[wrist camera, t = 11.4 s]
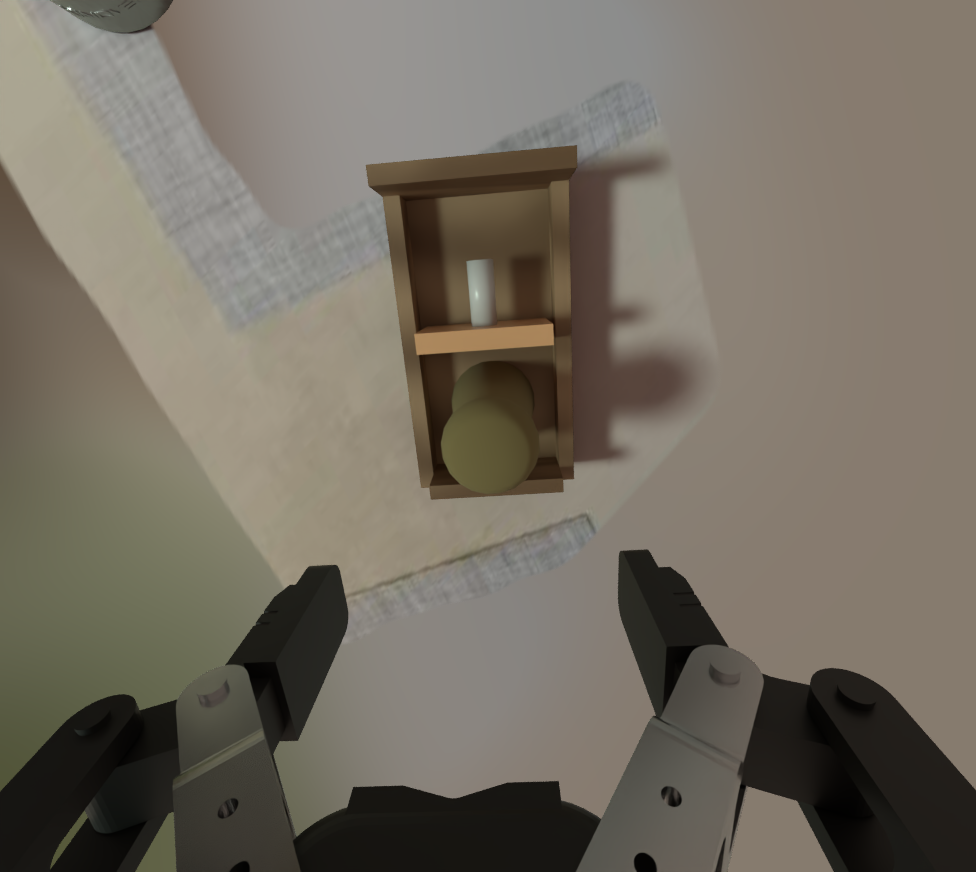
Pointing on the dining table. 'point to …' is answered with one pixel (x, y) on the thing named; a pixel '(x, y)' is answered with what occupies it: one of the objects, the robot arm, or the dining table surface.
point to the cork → (491, 429)
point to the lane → (518, 288)
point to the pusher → (483, 322)
